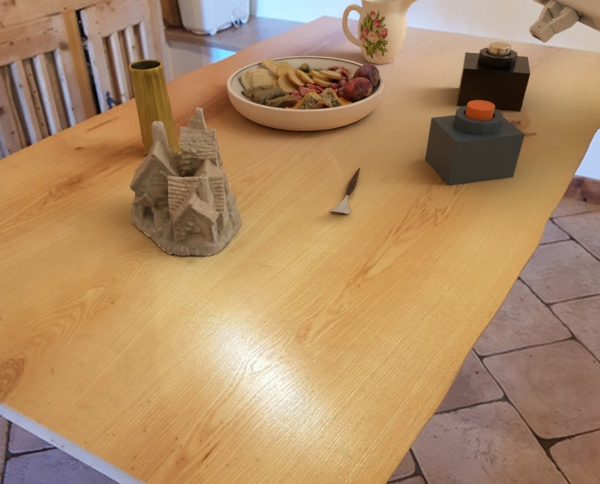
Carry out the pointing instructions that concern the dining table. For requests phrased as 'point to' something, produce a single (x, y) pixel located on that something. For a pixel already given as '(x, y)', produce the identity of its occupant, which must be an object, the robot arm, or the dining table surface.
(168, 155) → the ceramic cottage
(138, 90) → the vase
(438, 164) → the button housing
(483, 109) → the orange push button
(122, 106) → the dining table surface
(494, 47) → the power button
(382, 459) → the dining table surface
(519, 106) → the base unit
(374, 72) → the bowl
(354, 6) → the pitcher
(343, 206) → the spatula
